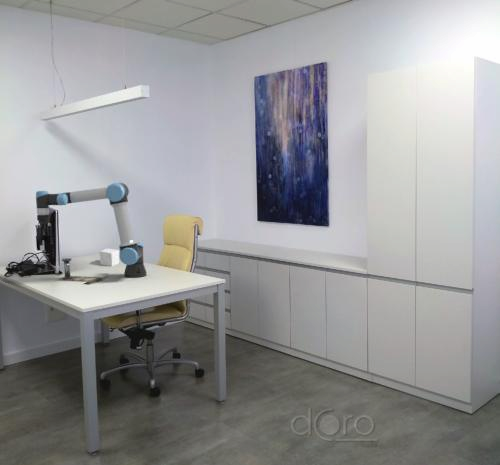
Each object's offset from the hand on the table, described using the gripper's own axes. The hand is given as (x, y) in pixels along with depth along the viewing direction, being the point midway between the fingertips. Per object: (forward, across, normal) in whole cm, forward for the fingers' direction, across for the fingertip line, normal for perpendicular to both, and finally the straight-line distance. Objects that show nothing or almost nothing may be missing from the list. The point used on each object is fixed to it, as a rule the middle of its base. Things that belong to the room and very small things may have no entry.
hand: (45, 249), depth 356 cm
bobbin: (+20, -5, +13) cm, 24 cm away
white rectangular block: (+21, -70, +5) cm, 73 cm away
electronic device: (0, 0, 0) cm, 1 cm away
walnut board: (+21, -5, +22) cm, 30 cm away
